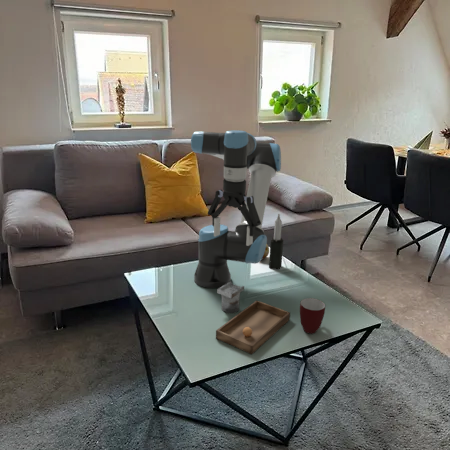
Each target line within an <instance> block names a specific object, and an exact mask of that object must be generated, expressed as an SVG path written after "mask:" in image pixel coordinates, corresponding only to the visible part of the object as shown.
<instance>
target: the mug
mask: <svg viewBox="0 0 450 450" xmlns="http://www.w3.org/2000/svg"><path fill="white" fill-rule="evenodd" d="M299 305H300V306H299V317H300V319H299V320H300V323H301V327H302V329H303V330H304V332H305V333H307V334H309V333H310V334H311V335H313V334H316V333H317V331H318V330H319V329H320V327H321V326H322V323H323V319H324V316H325V313H326V304H325V302H323V301H322V300H320V299H318V298H313V297H309V298H308V297H307V298H303V299H301V301H300V304H299Z"/></svg>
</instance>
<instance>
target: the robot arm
mask: <svg viewBox="0 0 450 450" xmlns="http://www.w3.org/2000/svg"><path fill="white" fill-rule="evenodd" d="M190 149H191V150H192V152H193V153H196V154H200V155H202V154H203V155H204V154H205V155H208V156H209V155H210V156H212V157H215V158H219V159H221V160H223V180H222V185H223V186H222V189H218V190H216V191H215V194H214V198H213V200H212V202H211V204H210V207H209V209H208V211H207V215H208V216H211V218H212V220H211V221H212V223H211V224H210V225H209V224H208V225H206V226H203V227H202V228H201V229H200V230H199V232H198V239H197V242H198V264H197V265H196V266H197V267H196V269H195V271H194V279H193V280H194V283H195V284H196V285H198V286H200V287H203V288H208V289H219V288H220V287H222V286H223V285H225V284H227V283H228V282H230V281H231V279H232V278H231V277H232V275H231V272H230V269H229V266H228V261H233V262H237V263H239V262H240V263H246V264H259V263H260V262H261V260H263V259H262V257H263V255H264V252H265V249H266V244H267V243H268V238H267V235H266V234H265V231H264V229H263V228H262V226H263V223H264V222H263V221H264V215H265V212H266V205H267V203H268V202H267V200H268V198H269V197H268V196H269V190H270V185H271V181H272V179H273V178H274V177H276V175H277V172H281V169H282V154H281V153H282V151H281V146H280V144H278V143H272V142H257V140H256V138H255V136H254V135H253V134H251V133H248V132H247V131H245V130H238V129H237V130H236V129H235V130H234V129H231V130H227V131H225V132H213V131H204V130H203V131H194V132H193V133H192V134H191V138H190ZM247 172H249V173H250V179H249V183H248V187H247V180H246V179H247V175H248V174H247ZM246 190H247V191H246ZM222 198H223V201H222V202H221V200H222ZM220 203H221V204H220ZM219 204H220V205H219ZM227 207H229V208H230V207H232V208H235V209H236V208H237V209H238V211H240V213H241V214H242V216H241V221H240V223H238V224H237V225H236V226H235V229H234V230H229V227H228V226H227V225H225V224H221V213H223V211H224V210H225V209H226V208H227ZM231 282H232V281H231Z"/></svg>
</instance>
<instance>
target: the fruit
mask: <svg viewBox="0 0 450 450" xmlns="http://www.w3.org/2000/svg"><path fill="white" fill-rule="evenodd" d="M269 255H270V247H269V244H267V243H266V249H265V252H264V255H263V257H262V259H261V260H264V259H266V258H267V257H268V256H269Z"/></svg>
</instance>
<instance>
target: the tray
mask: <svg viewBox="0 0 450 450" xmlns="http://www.w3.org/2000/svg"><path fill="white" fill-rule="evenodd" d="M290 318H291V312H289V311H286V310H285V309H282V308H279V307H276V306H273V305H270V304H268V303H265V302H262V301H260V300H255V301H253V303H251V304H249V305H248V306H247V307H246V308H244V309H243V310H242V311H240V312H239V313H238V314H236V315H235V316H234V317H232V318H231V319H229V320H228V321H227V322H225V323H224V324H223V325H221V326H220V327H219V328H217V329H216V330H215V340H218V341H221V342H223V343H225V344H227V345H230V346H232V347H234V348H235V349H238V350H240V351H243V352H245V353H247V354H249V355H252V356H253V354H254V353H255V352H257V350H258V349H259V348H261V347H262V346H263V345H264V344H265V343H266V342H267V341H268V340H269V339H271V338H272V337H273V336H274V335H275V334H276V333H277V332H278V331H279V330H280V329H281V328H283V327H284V326H285V325H286V324H287V323H288V322H289V321H290ZM245 327H250V328H251V329H252V334H251V335H250V336H248V337H247V336H245V335H244V334H243V329H244V328H245Z"/></svg>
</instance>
